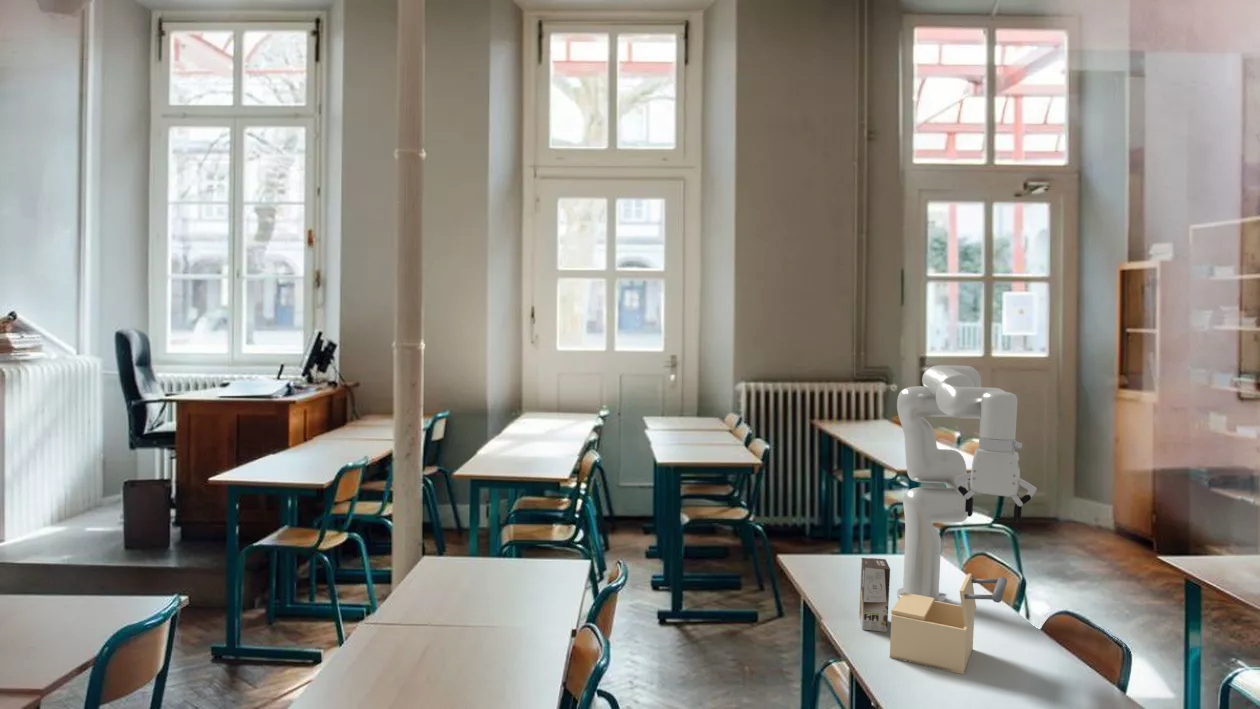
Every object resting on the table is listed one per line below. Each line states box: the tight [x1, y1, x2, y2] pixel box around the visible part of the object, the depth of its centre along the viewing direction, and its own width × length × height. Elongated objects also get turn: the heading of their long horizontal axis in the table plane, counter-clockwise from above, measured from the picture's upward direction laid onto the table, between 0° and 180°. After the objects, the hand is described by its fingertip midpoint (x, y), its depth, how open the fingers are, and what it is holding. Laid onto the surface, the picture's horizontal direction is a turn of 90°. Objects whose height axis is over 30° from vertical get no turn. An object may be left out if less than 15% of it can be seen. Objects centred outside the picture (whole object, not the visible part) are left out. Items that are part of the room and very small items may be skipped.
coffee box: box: [858, 557, 891, 633], centre depth 204 cm, size 9×6×16 cm
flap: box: [959, 573, 1008, 627], centre depth 181 cm, size 8×14×8 cm
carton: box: [889, 592, 975, 675], centre depth 187 cm, size 16×16×11 cm
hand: (992, 518), depth 183 cm, fingers open, 9 cm apart
